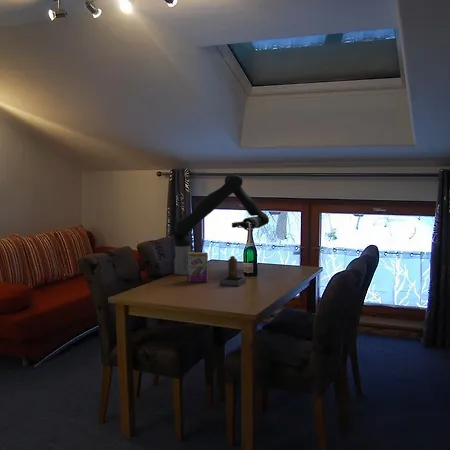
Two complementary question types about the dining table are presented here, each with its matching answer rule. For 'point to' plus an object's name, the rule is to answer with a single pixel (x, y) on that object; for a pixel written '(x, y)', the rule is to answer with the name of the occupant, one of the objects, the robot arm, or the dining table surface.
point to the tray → (232, 283)
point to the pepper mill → (232, 268)
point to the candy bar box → (197, 267)
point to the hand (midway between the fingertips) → (239, 226)
